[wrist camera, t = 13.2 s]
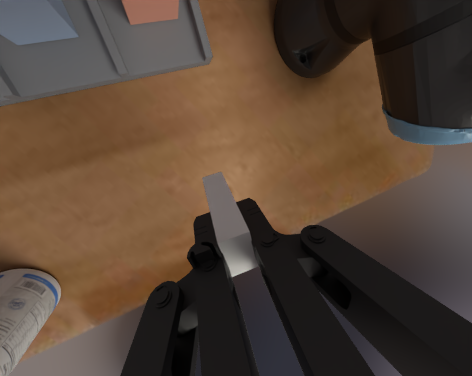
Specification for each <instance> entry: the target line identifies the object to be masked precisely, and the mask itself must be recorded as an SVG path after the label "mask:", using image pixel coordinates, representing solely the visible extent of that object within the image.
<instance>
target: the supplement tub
mask: <svg viewBox="0 0 472 376" xmlns="http://www.w3.org/2000/svg"><path fill="white" fill-rule="evenodd" d="M60 297H61V288H60V285H59V283H58V282H57V280H56V279H55V278H53V277H52V276H51V275H49V274H47V273H45V272H42V271H39V270H35V269H12V270H7V271H4V272H0V376H9V375H10V374H11V372H12V371H13V369H14V368H15V366H16V365H17V363H18V362H19V360H20V359H21V357H22V356H23V354H24V353H25V351H26V350H27V349H28V347H29V346H30V344H31V343H32V341H33V340H34V338H35V337H36V335H37V334H38V332H39V331H40V329H41V328H42V326H43V325H44V323H45V322H46V320H47V319H48V317H49V316H50V314H51V313H52V311H53V310H54V308H55V307H56V305H57V304H58V302H59V300H60Z"/></svg>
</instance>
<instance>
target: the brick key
mask: <svg viewBox="0 0 472 376" xmlns="http://www.w3.org/2000/svg"><path fill="white" fill-rule="evenodd" d="M121 1H122V4H123V6H124V9H125V12H126V14H127V17H128V19H129V22H130V25H134V24H142V23H150V22H158V21H165V20H173V19H178V8H179V0H121Z"/></svg>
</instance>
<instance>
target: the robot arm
mask: <svg viewBox="0 0 472 376" xmlns="http://www.w3.org/2000/svg"><path fill="white" fill-rule="evenodd" d="M274 30H275V38H276V43H277V46H278V49H279V52H280V54H281V56H282V58H283V60H284V61H285V63H286V64H287V66H288V67H289V68H290V69H291V70H292V71H293V72H295V73H296V74H298V75H300V76H302V77H306V78H314V77H318V76H320V75H322V74H325V73H327V72H329V71H331V70H332V69H334V68H335V67H336V66H337V65H338V64H339V63H340V62H342V61H343V60H344V59H345V58H346V57H347V56H348V55H349V54H350V53H351V52H352V51H353V50H354V49H355V48H356V47H358V46H359V45H360V44H361V43H363V42H365V41H367V40H369V39H371V38H372V44H373V49H374V56H375V61H376V67H377V72H378V78H379V84H380V89H381V95H382V101H383V104H382V110H383V113H384V114H385V116H386V119H387V123H388V127H389V130H390V131H391V132H392V133H393V134H394V135H395V136H397V137H400V138H401V139H403V140H405V141H409V142H413V143H418V144H428V145H449V144H460V143H468V142H472V0H278V2H277V5H276V10H275V17H274ZM202 179H203V183H204V187H205V192H206V196H207V200H208V205H209V209H210V212H209V213H206V214H203V215H201V216H198V217H196V219H195V221H194V235H195V244H194V245H193V246H192V247H191V248H190V250H189V252H188V255H187V259H188V261H189V262H190V264H191V265H192V267H193V269H192V270H191V271H190V273H189V274H187V275H186V276H185V277H184V278H182V279H181V280H180V281H178V282H177V283H175V282H173V281H167V282H164V283H162V284H160V285H159V286H157V287H156V288H155V289H154V290H153V292H152V293H151V294H150V296H149V298H148V300H147V303H146V306H145V309H144V312H143V314H142V317H141V320H140V322H139V325H138V328H137V331H136V334H135V336H134V339H133V342H132V345H131V348H130V350H129V353H128V356H127V359H126V362H125V364H124V367H123V370H122V373H121V376H195V370H196V361H197V352H198V343H199V345H200V358H201V372H202V376H259V372H258V368H257V365H256V361H255V358H254V354H253V350H252V346H251V343H250V339H249V335H248V332H247V328H246V324H245V321H244V317H243V313H242V310H241V306H240V303H239V299H238V295H237V292H236V288H235V286H234V283H233V281H232V277H233V276H236V275H238V274H241V273H243V272H246V271H248V270H251V269H253V268H256V267H258V265H259V267H260V270H261V273H262V277H263V281H264V284H266V286H267V289H268V291H269V293H270V296H271V298H272V301H273V303H274V305H275V308H276V310H277V312H278V314H279V317H280V319H281V322H282V324H283V326H284V329H285V331H286V333H287V336H288V338H289V341H290V343H291V345H292V348H293V350H294V352H295V354H296V357H297V359H298V362H299V364H300V366H301V369H302V371H303V374H304V376H375V375H374V373H373V372H372V370H371V369H370V367H369V366H368V365H367V363H366V361H365V360H364V359H363V357H362V356H361V354H360V353H359V351H358V350H357V348H356V347H355V345H354V344H353V342H352V341H351V339H350V338H349V336H348V335H347V333H346V332H345V330H344V329H343V327H342V326H341V324H340V323H339V321H338V320H337V318H336V317H335V315H334V314H333V312H332V311H331V309H330V308H329V306H328V305H327V303H326V302H325V300H324V299H323V297H322V296H321V294H322V295H323V296H324V297H325V298H326V299H327V300H328V301H329V302H330V303H331V304H332V305H333V306H334V307H335V308H336V309H337V310H338V311H339V312H340V313H341V314H342V315H343V316H344V317H345V318H346V319H347V320H348V321H349V322H350V323H351V324H352V325H353V326H354V327H355V328H356V329H357V330H358V331H359V332H360V333H361V334H362V335H363V336H364V337H365V338H366V339H367V340H368V341H369V342H370V343H371V344H372V345H373V346H374V347H375V348H376V349H377V350H378V351H379V352H380V353H381V354H382V355H383V356H384V357H385V359H387V360H388V362H389V363H390V364H391V365H393V367H394V368H395V369H396V370H397V371H398V372H399V373H400V374H401V375H402V376H472V323H471V322H469V321H468V320H466V319H464V318H463V317H461V316H460V315H458V314H457V313H455V312H454V311H452V310H451V309H449V308H448V307H446V306H445V305H443V304H441V303H440V302H438V301H437V300H435V299H434V298H432V297H431V296H429V295H428V294H426V293H424V292H423V291H422V290H420V289H418V288H417V287H415V286H414V285H412V284H411V283H409V282H408V281H406V280H405V279H403V278H401V277H400V276H399V275H397V274H396V273H394V272H392V271H391V270H389V269H388V268H386V267H385V266H383V265H382V264H380V263H379V262H377V261H376V260H374V259H373V258H371V257H369V256H368V255H366V254H365V253H363V252H362V251H360V250H359V249H357V248H356V247H354V246H353V245H351V244H350V243H348V242H346V241H345V240H343V239H342V238H340V237H339V236H337V235H336V234H334V233H333V232H331V231H330V230H328V229H327V228H324V227H322V226H319V225H309V226H307V227H304V228H303V229H302V231H301V234H293V235H285V234H280V233H278V232H277V231H275V230H274V229H273V228H272V227H271V225H270V224H269V222H268V220H267V219H266V217H265V216H264V214H263V213H262V212H261V210H260V208H259V207H258V205H257V203H256V202H255V201H254V200H252V199H250V198H247V199H244V200H241V201H239V202H235V200H234V198H233V195H232V193H231V191H230V189H229V187H228V185H227V183H226V181H225V179H224V176H223V174H222V172H218V173H215V174H212V175H209V176H206V177H203V178H202ZM319 292H320V293H321V294H320V293H319Z"/></svg>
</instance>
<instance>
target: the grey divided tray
mask: <svg viewBox="0 0 472 376" xmlns="http://www.w3.org/2000/svg"><path fill="white" fill-rule="evenodd" d="M62 2H63V4H64V6H65V8H66V11H67V13H68V15H69V17H70V19H71V21H72V23H73V25H74V27H75V29H76V31H77V33H78V36H79V37H76V38H68V39H61V40H54V41H46V42H39V43H32V44H24V45H17V44H15V43H13V42H12V41H10V40H8V39H7V38H5V37H4V36H2V35H0V106H4V105H9V104H14V103H19V102H24V101H29V100H34V99H39V98H44V97H49V96H53V95H58V94H63V93H68V92H73V91H78V90H83V89H88V88H93V87H98V86H103V85H108V84H113V83H118V82H123V81H128V80H133V79H138V78H143V77H148V76H153V75H158V74H163V73H168V72H173V71H178V70H183V69H188V68H193V67H198V66H203V65H208V64H209V63H210V61H211V59H212V57H213V55H212V52H211V48H210V44H209V41H208V37H207V33H206V29H205V26H204V22H203V18H202V15H201V11H200V7H199V3H198V0H179V8H178V19H173V20H165V21H158V22H150V23H142V24H134V25H130V22H129V19H128V17H127V14H126V12H125V9H124V6H123V4H122V1H121V0H62Z"/></svg>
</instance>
